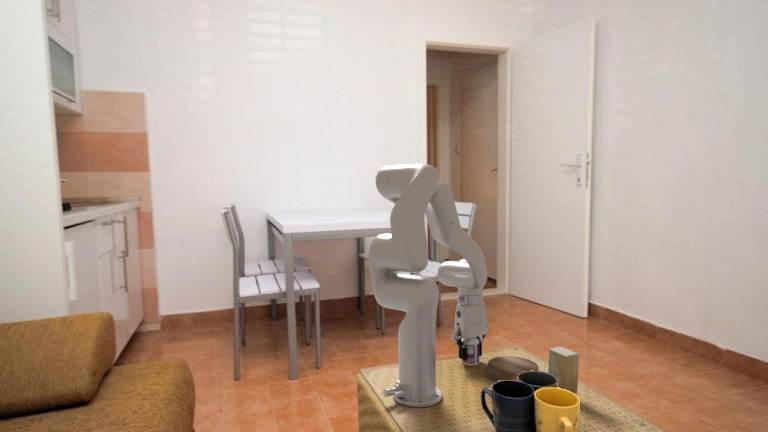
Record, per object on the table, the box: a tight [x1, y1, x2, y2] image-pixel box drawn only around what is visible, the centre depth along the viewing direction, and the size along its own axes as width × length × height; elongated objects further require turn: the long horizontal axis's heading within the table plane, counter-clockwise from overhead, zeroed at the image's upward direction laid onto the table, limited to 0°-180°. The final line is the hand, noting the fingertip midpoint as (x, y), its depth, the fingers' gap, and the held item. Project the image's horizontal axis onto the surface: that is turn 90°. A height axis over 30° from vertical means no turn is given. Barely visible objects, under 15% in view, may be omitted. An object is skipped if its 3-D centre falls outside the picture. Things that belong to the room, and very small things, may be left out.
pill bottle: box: [461, 337, 480, 367], centre depth 144 cm, size 5×5×10 cm
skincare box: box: [547, 346, 580, 395], centre depth 119 cm, size 6×4×12 cm
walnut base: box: [487, 355, 540, 382], centre depth 134 cm, size 14×14×3 cm
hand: (470, 356), depth 144 cm, fingers closed on pill bottle, 5 cm apart
